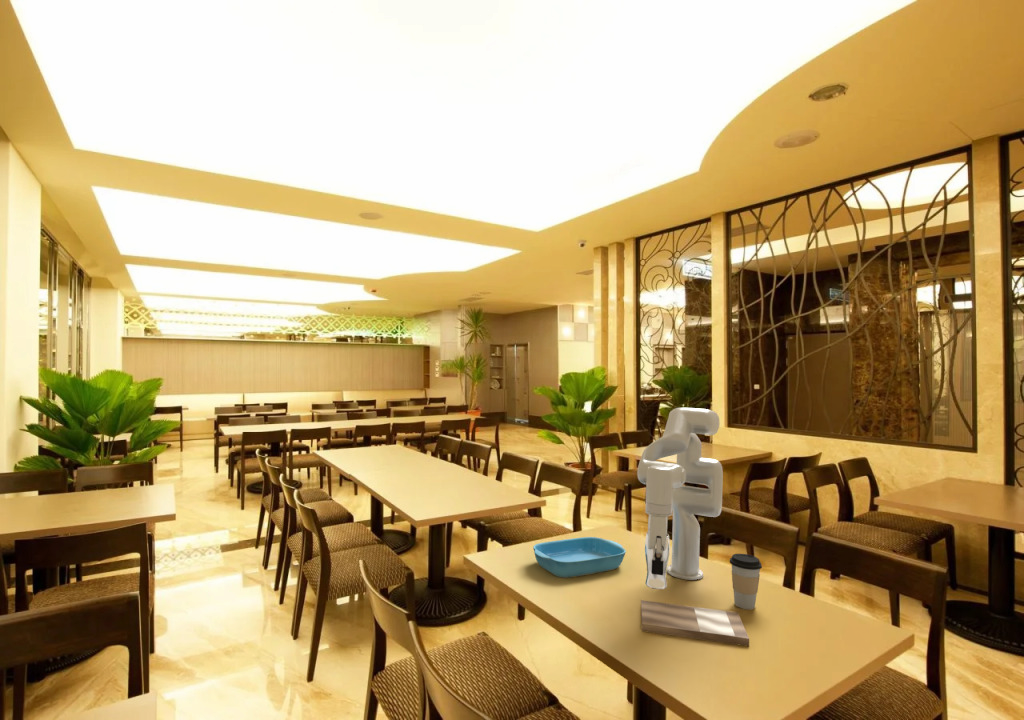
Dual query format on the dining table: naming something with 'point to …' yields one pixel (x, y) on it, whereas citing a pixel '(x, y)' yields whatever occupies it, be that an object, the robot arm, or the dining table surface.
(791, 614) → the dining table surface
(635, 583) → the dining table surface
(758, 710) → the dining table surface
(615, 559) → the casserole dish
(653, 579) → the beer glass
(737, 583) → the coffee cup
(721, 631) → the cutting board
